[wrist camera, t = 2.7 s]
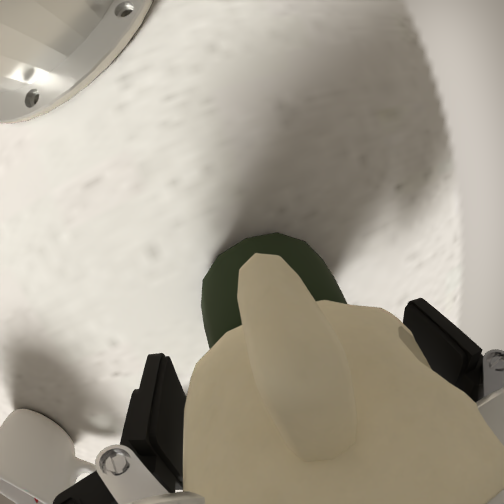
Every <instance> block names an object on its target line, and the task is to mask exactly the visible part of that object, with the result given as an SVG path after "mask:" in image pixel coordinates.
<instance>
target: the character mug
mask: <svg viewBox="0 0 504 504" xmlns="http://www.w3.org/2000/svg"><path fill="white" fill-rule="evenodd" d="M201 308H202V315H203V322H204V328H205V332H206V336H207V340H208V344H209V348H210V350H209V351H208V352H207V353H206V354H205V355H204V356H203V357H202V358H201V359H200V360H199V361H198V362H197V363H196V365H195V368H194V371H193V373H192V376H191V380H190V384H189V389H188V393H187V398H186V403H185V408H184V430H183V492H185V491H190V492H193V493H196V494H198V495H201V496H203V497H204V498H205V504H486V503H487V502H489V501H490V500H491V499H492V498H494V497H495V496H496V495H497V494H499V493H500V492H501V491H502V490H503V489H504V446H503V444H502V443H501V442H500V440H499V439H498V438H497V436H496V435H495V434H494V433H493V431H492V430H491V429H490V427H489V426H488V425H487V423H486V422H485V420H484V418H483V417H482V415H481V413H480V412H479V410H478V408H477V404H476V403H475V402H474V401H473V400H472V399H471V398H470V397H469V396H468V395H467V394H466V393H465V392H463V391H461V390H460V389H458V388H457V387H455V386H454V385H452V384H451V383H449V382H448V381H446V380H445V379H444V378H442V377H441V376H440V375H438V374H437V373H436V372H434V371H433V370H432V369H431V367H430V365H429V363H428V362H427V360H426V358H425V356H424V355H423V353H422V351H421V349H420V348H419V346H418V344H417V343H416V341H415V339H414V336H413V334H412V332H411V331H410V330H409V329H408V328H407V327H406V326H405V325H404V324H403V323H402V322H401V321H400V320H399V319H398V318H397V317H395V316H394V315H393V314H391V313H390V312H388V311H386V310H384V309H382V308H377V307H367V306H356V305H349V304H347V302H346V300H345V298H344V296H343V294H342V292H341V290H340V288H339V286H338V284H337V282H336V280H335V278H334V277H333V275H332V273H331V272H330V270H329V269H328V267H327V266H326V264H325V262H324V261H323V259H322V258H321V257H320V256H319V255H318V254H317V253H316V252H315V251H314V250H313V249H312V248H311V247H310V246H309V245H308V244H307V243H306V242H305V241H302V240H299V239H295V238H292V237H289V236H286V235H283V234H280V233H272V234H267V235H261V236H256V237H251V238H246V239H244V240H243V241H241V242H240V243H238V244H236V245H235V246H233V247H232V248H230V249H229V250H227V251H225V252H224V253H222V254H221V255H219V256H218V258H217V259H216V261H215V262H214V264H213V265H212V267H211V268H210V270H209V271H208V273H207V274H206V276H205V277H204V279H203V284H202V300H201Z"/></svg>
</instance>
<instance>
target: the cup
mask: <svg viewBox="0 0 504 504" xmlns="http://www.w3.org/2000/svg"><path fill="white" fill-rule="evenodd" d="M95 471H96V467H95V465H94V464H92V463H90V462H87V461H84V460H81V459H79V458H77V457H75V448H74V444H73V442H72V440H71V438H70V437H69V435H68V434H67V433H66V432H65V431H64V430H63V429H62V428H61V427H60V426H59V425H57V424H56V423H55V422H53V421H52V420H50V419H49V418H47V417H45V416H44V415H42V414H40V413H37V412H35V411H32V410H28V409H17V410H15V411H13V412H12V413H11V414H10V415H9V416H8V417H7V418H6V420H5V421H4V423H3V424H2V426H1V427H0V493H1V494H3V495H4V496H6V497H7V498H9V499H10V500H12V501H14V502H15V503H17V504H53V501H54V499H55V497H56V496H57V495H58V494H60V493H61V492H63V491H64V490H66V489H68V488H69V487H71V486H73V485H74V484H75V482H76V479H77V477H78V476H79V475H81V474H83V473H89V474H91V473H93V472H95Z"/></svg>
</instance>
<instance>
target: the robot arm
mask: <svg viewBox="0 0 504 504" xmlns="http://www.w3.org/2000/svg"><path fill="white" fill-rule="evenodd" d="M152 1H153V0H0V124H12V123H17V122H23V121H29V120H31V119H33V118H36V117H38V116H41V115H43V114H46V113H48V112H50V111H52V110H53V109H55V108H57V107H58V106H60V105H62V104H63V103H65V102H67V101H68V100H70V99H71V98H72V97H73V96H75V95H76V94H77V93H79V92H80V91H81V90H83V89H84V88H85V87H87V86H88V85H89V84H90V83H91V82H92V81H93V80H94V79H95V78H96V77H97V76H98V75H99V74H101V73H102V72H103V71H104V70H105V69H106V68H107V67H108V66H109V65H110V64H111V63H112V61H113V60H114V59H115V58H116V57H117V56H118V54H119V53H120V52H121V51H122V50H123V49H124V48H125V47H126V45H127V44H128V42H129V41H130V39H131V38H132V37H133V35H134V34H135V32H136V31H137V29H138V28H139V27H140V25H141V24H142V22H143V20H144V18H145V16H146V14H147V12H148V10H149V8H150V6H151V4H152ZM128 13H130V14H129V15H127V16H125V15H126V14H128ZM124 16H125V17H124ZM38 99H39V100H38ZM403 324H404V325H405V326H406V327H407V328H408V329H409V330H410V331H411V332H412V334H413V336H414V339H415V341H416V343H417V344H418V346H419V348H420V349H421V351H422V353H423V355H424V356H425V358H426V360H427V362H428V363H429V365H430V367H431V369H432V370H433V371H434V372H436V373H437V374H438V375H440V376H441V377H442V378H444V379H445V380H446V381H448V382H449V383H451V384H452V385H454V386H455V387H457V388H458V389H460V390H461V391H463V392H465V393H466V394H467V395H468V396H469V397H470V398H471V399H472V400H473V401H474V402H475V403H476V404H477V408H478V410H479V412H480V413H481V415H482V417H483V418H484V420H485V422H486V423H487V425H488V426H489V427H490V429H491V430H492V431H493V433H494V434H495V435H496V436H497V438H498V439H499V440H500V442H501V443H502V444H503V446H504V351H502V350H498V349H497V350H496V349H495V350H490V351H488V352H487V353H485V355H484V356H483V355H482V354H481V352H482V349H481V348H480V347H479V346H478V345H477V344H476V343H474V342H473V341H472V340H471V339H470V338H469V337H468V336H467V335H465V334H464V333H463V332H462V331H461V330H460V329H459V328H457V327H456V326H455V325H454V324H453V323H452V322H450V321H449V320H448V319H447V318H446V317H445V316H443V315H442V314H441V313H440V312H439V311H437V310H436V309H435V308H434V307H433V306H431V305H430V304H429V303H428V302H427V301H425V300H424V299H423V298H418V299H415V300H412V301H410V302H408V305H407V306H406V307H405V311H404V318H403ZM185 403H186V396H185V393H184V391H183V389H182V386H181V384H180V381H179V379H178V377H177V374H176V372H175V369H174V366H173V364H172V361H171V359H170V357H169V356H166V357H165V355H164V354H163V353H159V354H149V355H148V357H147V360H146V364H145V368H144V371H143V375H142V379H141V383H140V387H139V389H135V390H134V391H133V393H132V396H131V400H130V404H129V408H128V412H127V416H126V420H125V424H124V428H123V433H122V437H121V442H120V445H111V446H109V447H106V448H104V449H103V450H102V451H100V453H99V454H98V455H97V458H96V460H95V467H96V471H95V472H93V473H91V474H90V475H88V476H87V477H85V478H84V479H82V480H81V481H79V482H77V483H76V484H74V485H73V486H71V487H69V488H68V489H66V490H64V491H63V492H61V493H60V494H58V495H57V496H56V497H55V499H54V501H53V504H205V498H204V497H203V496H201V495H198V494H196V493H193V492H190V491H185V492H176V493H175V490H183V430H184V408H185ZM486 504H504V489H503V490H502V491H501V492H500V493H499V494H497V495H496V496H495V497H494V498H492V499H491V500H490V501H489V502H487V503H486Z"/></svg>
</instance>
